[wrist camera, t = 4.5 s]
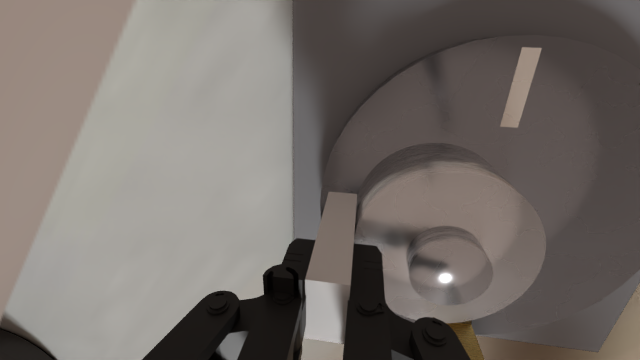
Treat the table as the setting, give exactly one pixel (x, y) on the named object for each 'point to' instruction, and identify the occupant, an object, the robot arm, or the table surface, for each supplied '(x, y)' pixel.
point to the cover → (448, 233)
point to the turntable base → (404, 48)
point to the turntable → (523, 156)
